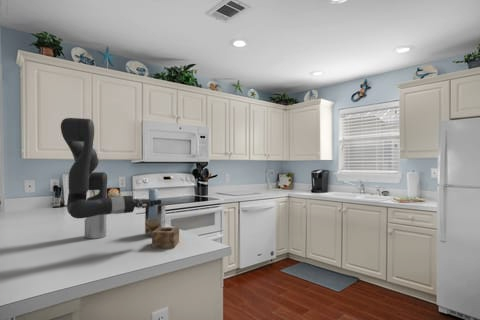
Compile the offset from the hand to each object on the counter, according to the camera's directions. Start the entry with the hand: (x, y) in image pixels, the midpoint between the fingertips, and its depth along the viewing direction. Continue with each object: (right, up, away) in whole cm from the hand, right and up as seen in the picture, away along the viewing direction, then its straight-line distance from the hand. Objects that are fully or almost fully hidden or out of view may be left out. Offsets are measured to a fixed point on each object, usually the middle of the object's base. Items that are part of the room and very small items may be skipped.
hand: (158, 201), depth 133 cm
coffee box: (-7, -20, +17) cm, 27 cm away
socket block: (+4, -20, -2) cm, 20 cm away
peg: (-2, -8, -2) cm, 8 cm away
